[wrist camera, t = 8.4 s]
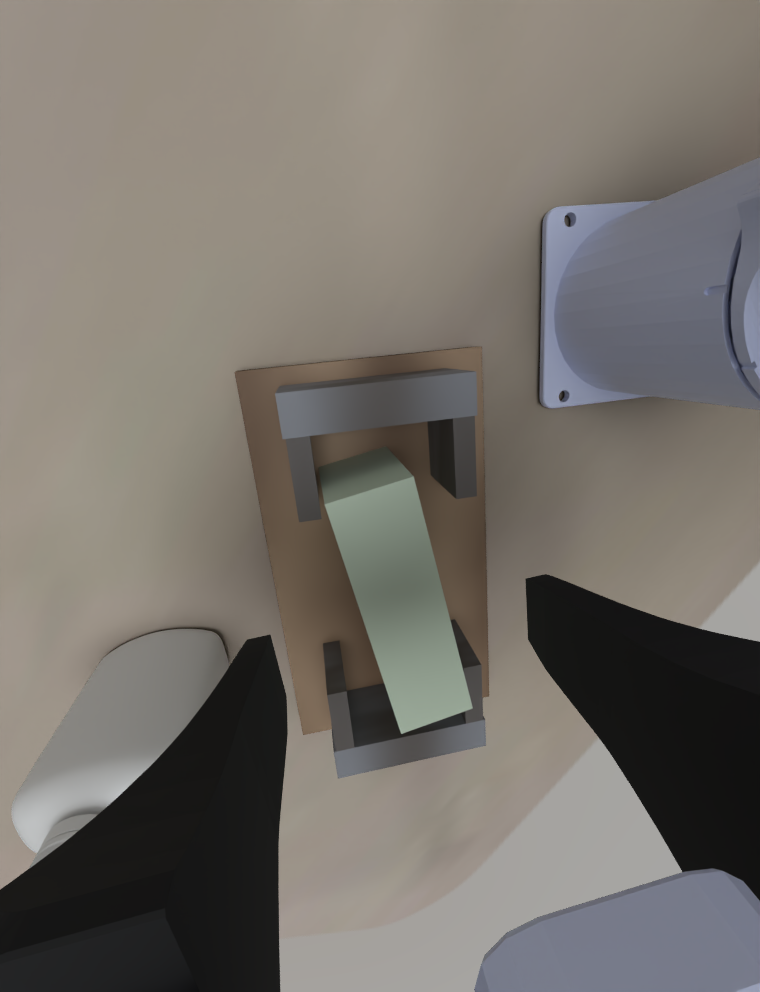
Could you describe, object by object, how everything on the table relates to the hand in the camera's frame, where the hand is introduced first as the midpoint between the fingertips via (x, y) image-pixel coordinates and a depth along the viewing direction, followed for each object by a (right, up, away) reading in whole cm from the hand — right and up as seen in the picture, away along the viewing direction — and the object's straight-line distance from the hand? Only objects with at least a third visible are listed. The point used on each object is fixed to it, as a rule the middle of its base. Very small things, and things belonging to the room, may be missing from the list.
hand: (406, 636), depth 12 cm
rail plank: (-1, +1, +8) cm, 9 cm away
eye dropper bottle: (-11, -4, +9) cm, 15 cm away
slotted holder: (-1, +1, +9) cm, 10 cm away
